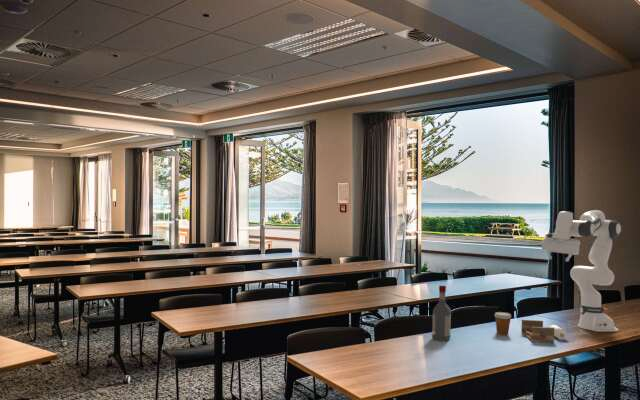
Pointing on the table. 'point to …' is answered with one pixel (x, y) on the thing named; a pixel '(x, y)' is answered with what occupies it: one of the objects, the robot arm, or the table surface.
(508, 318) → the disposable coffee cup
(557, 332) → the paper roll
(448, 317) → the liquor
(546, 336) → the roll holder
